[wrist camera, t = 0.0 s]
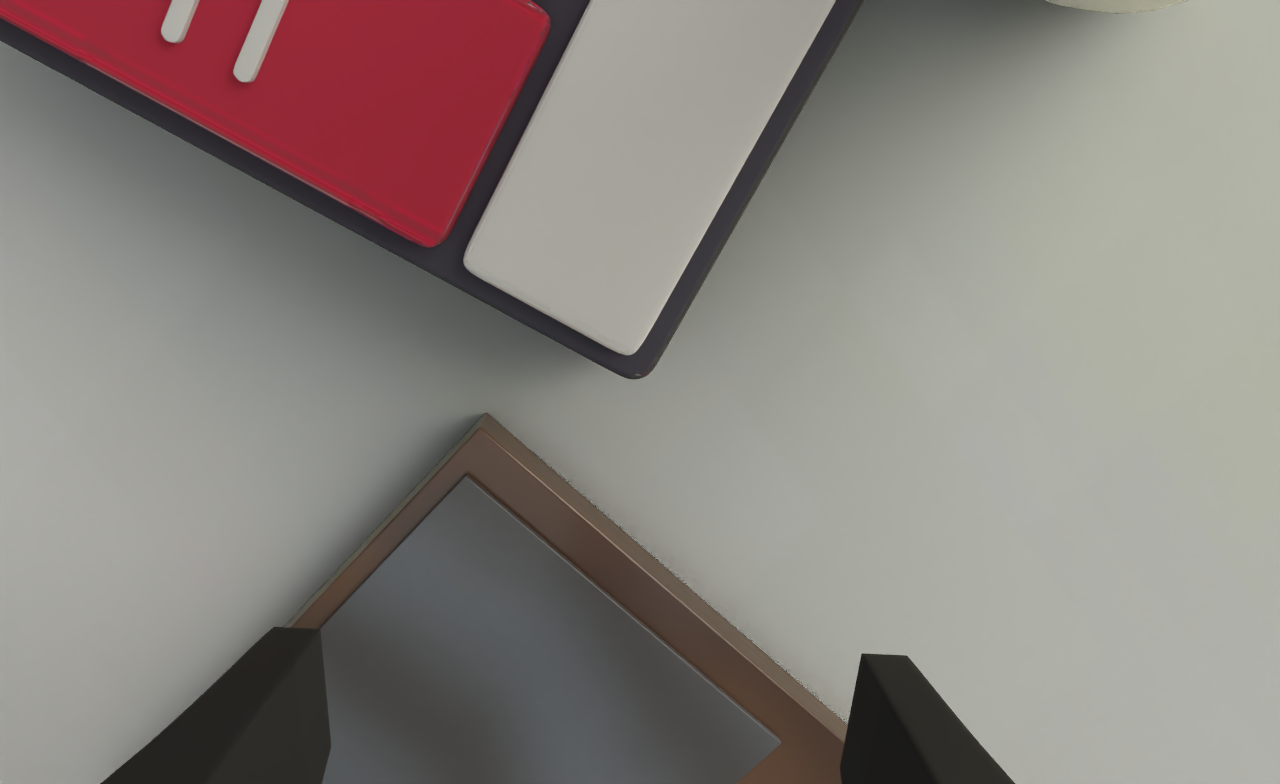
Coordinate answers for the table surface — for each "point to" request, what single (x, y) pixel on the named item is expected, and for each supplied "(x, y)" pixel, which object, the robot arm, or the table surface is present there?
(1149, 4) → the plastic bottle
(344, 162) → the calculator
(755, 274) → the table surface
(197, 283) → the table surface
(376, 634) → the board
